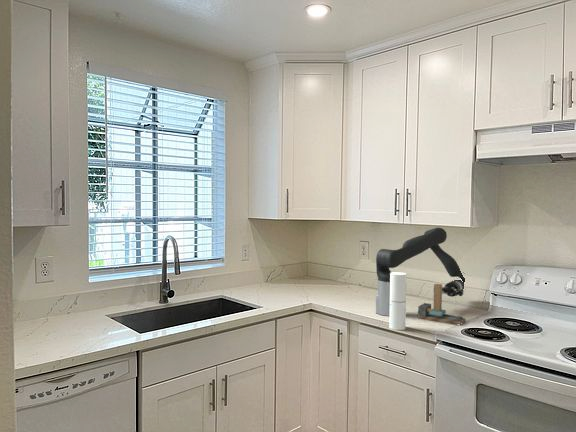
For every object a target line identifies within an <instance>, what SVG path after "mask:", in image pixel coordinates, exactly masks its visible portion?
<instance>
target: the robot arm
mask: <svg viewBox="0 0 576 432" xmlns="http://www.w3.org/2000/svg"><path fill="white" fill-rule="evenodd" d="M447 237H448V236H447V231H446V230H445V228H443V227H442V228H441V227H435V228H431V229H428V230H426V231H424V234H422V235H417V236H415V237H411V238H410V239H408V240H406V241H405V242H403V244H402V246H401V247H400V248H397V249H389V248H380V249H379V250H378V251H377V253H376V256H375V257H376V258H375V259H376V260H375V262H376V267H375V268H376V276H377V293H376V294H375V295H376V296H375V314H377V315H380V316H384V317H385V316H386V317H389V315H390V273H391V272H392V271H391V269H394V268H397V267H399V266H401V265H402V264H403V263H405V261H408V260H410V259H412V258H414V257H415V256H418V255H420V254H422V253H424V252H426V251H427V250H429V249H430V250H431V251H432V252H433V254H434V255H435V256H436V257H437V258H438V259H439V260H440V262H441V264H442V265H443V266H444V268H445V270H446V272H447V274H448V276H450V277H451V278H455V277H456V278H457V277H458V278H461V279H462V281H463V282H462V281H461V280H455V279H453V280H454V281H453V280H452V281H451V280H450V281H449V282H448V283H446V284H445V285H444V286H442V295H447V296H448V297H458V296H459V297H462V296H464V290H463V289H464V282H465V278H464V277H463V275H462V273H461V271H460V269H461V268H459V267H460V265H459V264H458V263H457V261H456V259H455V258H453V256H451V255H450V254H449V253H447V252H446V251H445V250H443V248H442V247H441V246H440V244H443V243H445V242H446V240H447Z"/></svg>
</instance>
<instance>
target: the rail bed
mask: <svg viewBox="0 0 576 432" xmlns="http://www.w3.org/2000/svg"><path fill="white" fill-rule="evenodd" d="M427 308H430V309H432V304H431V303H427V302H426V303H425V302H424V303H422V304H420V305H418V307H417V318H418V319H419V320H425V321H432V322H436V323H441V324H449V325H455V326H458V325H457V324H461V323H463V322H464V323H465V322H466V318H464V316H459V315H452V314H447V313H445V314H444V315H442V316H437V315H431V314H429V313H427ZM464 323H463V324H464Z"/></svg>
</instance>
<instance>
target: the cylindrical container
mask: <svg viewBox="0 0 576 432" xmlns="http://www.w3.org/2000/svg"><path fill="white" fill-rule="evenodd" d="M406 307H407V273H406V272H402V271H401V272H400V271H399V272H398V271H393V272H392V271H391V273H390V315H389V316H388V317H389V318H388V319H389V322H388V323H389V325H388V327H389V329H391V330H394V331H403V330H406V320H407V319H406V317H407V314H406V312H407V311H406V310H407V309H406Z"/></svg>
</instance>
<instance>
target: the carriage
mask: <svg viewBox="0 0 576 432" xmlns="http://www.w3.org/2000/svg"><path fill="white" fill-rule="evenodd" d="M442 287H443V284H441V283H434V284H433V308H431V309H432V310H430V311H429V314H431V315H437V316H442V315H444V314H447V310H445V309H442V307H443V306H442V303H443V301H442V300H443V294H442Z"/></svg>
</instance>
